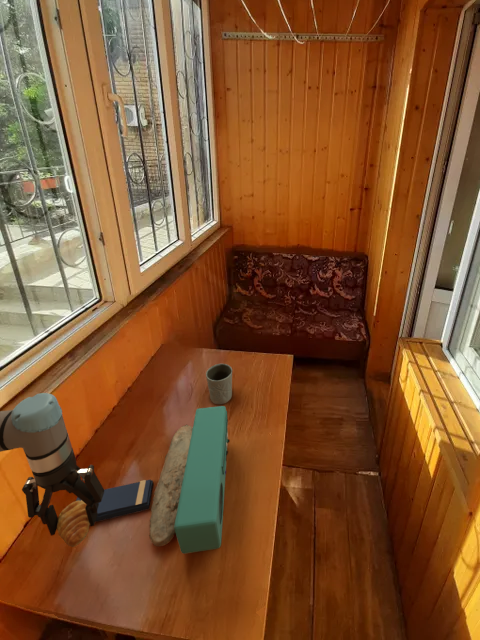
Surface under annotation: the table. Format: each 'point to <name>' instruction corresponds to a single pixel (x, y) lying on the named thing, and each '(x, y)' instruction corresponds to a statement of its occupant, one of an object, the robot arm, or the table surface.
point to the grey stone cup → (220, 383)
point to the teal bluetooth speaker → (203, 483)
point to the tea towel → (125, 500)
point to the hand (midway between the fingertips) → (75, 524)
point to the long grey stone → (169, 488)
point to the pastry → (73, 523)
